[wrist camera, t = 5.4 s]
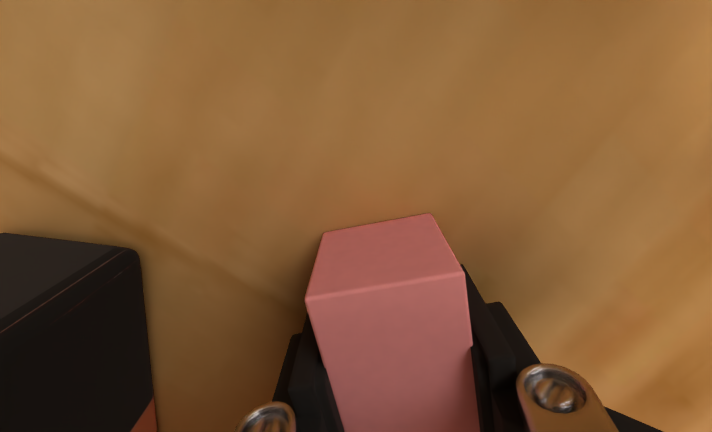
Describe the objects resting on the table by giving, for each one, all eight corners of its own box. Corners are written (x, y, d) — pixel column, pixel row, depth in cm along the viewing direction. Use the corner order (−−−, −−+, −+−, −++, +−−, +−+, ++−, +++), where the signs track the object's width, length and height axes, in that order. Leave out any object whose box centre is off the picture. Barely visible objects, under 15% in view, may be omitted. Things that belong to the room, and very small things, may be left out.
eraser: (455, 385, 12) (491, 497, 9) (365, 398, 12) (366, 511, 9) (431, 211, 10) (465, 272, 7) (322, 231, 10) (302, 299, 7)
